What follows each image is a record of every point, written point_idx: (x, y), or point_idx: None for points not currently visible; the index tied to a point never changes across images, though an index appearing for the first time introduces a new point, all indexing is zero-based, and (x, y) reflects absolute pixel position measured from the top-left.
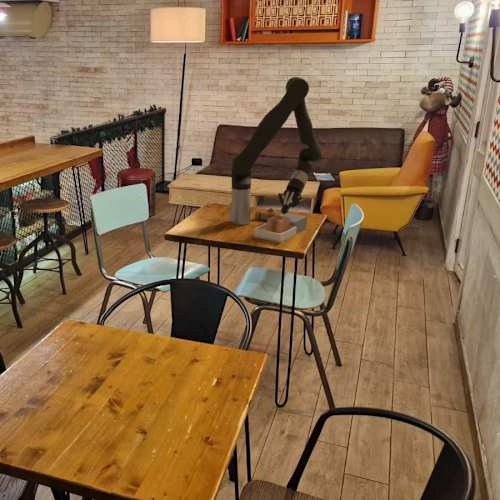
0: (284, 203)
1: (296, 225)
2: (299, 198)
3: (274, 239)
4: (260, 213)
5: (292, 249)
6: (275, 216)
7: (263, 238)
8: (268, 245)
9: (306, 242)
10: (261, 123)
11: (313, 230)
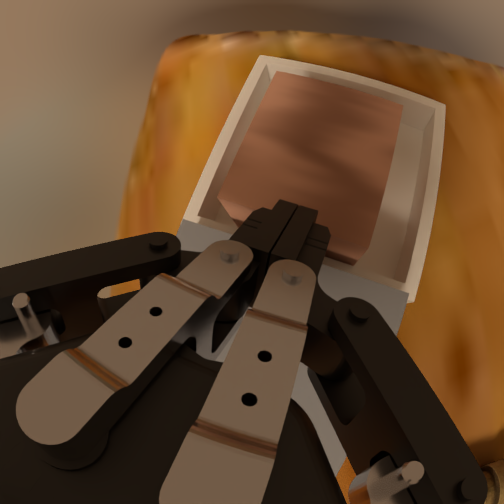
0: (293, 267)
1: None
2: (6, 279)
3: None
4: (490, 491)
5: (203, 52)
6: (366, 193)
7: None
8: (316, 54)
9: (142, 148)
10: None
11: None
